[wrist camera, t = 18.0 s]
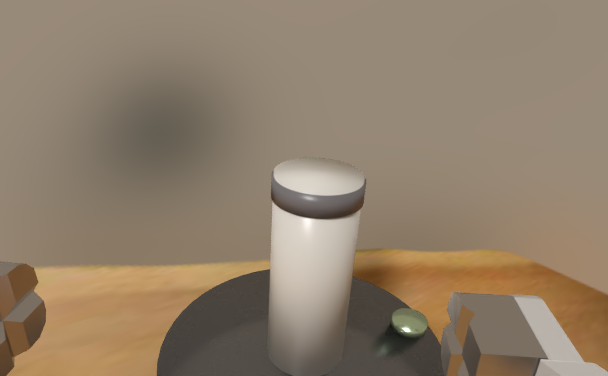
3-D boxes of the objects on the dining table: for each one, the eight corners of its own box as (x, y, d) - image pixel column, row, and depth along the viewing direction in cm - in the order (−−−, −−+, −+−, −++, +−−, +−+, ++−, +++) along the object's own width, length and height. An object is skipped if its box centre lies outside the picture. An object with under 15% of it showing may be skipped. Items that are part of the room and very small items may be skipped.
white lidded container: (343, 324, 30) (363, 161, 25) (344, 383, 25) (369, 196, 21) (271, 317, 30) (278, 154, 25) (259, 374, 26) (265, 188, 21)
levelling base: (415, 312, 37) (423, 272, 35) (477, 562, 21) (497, 508, 19) (206, 292, 38) (205, 252, 36) (105, 518, 21) (94, 463, 20)
